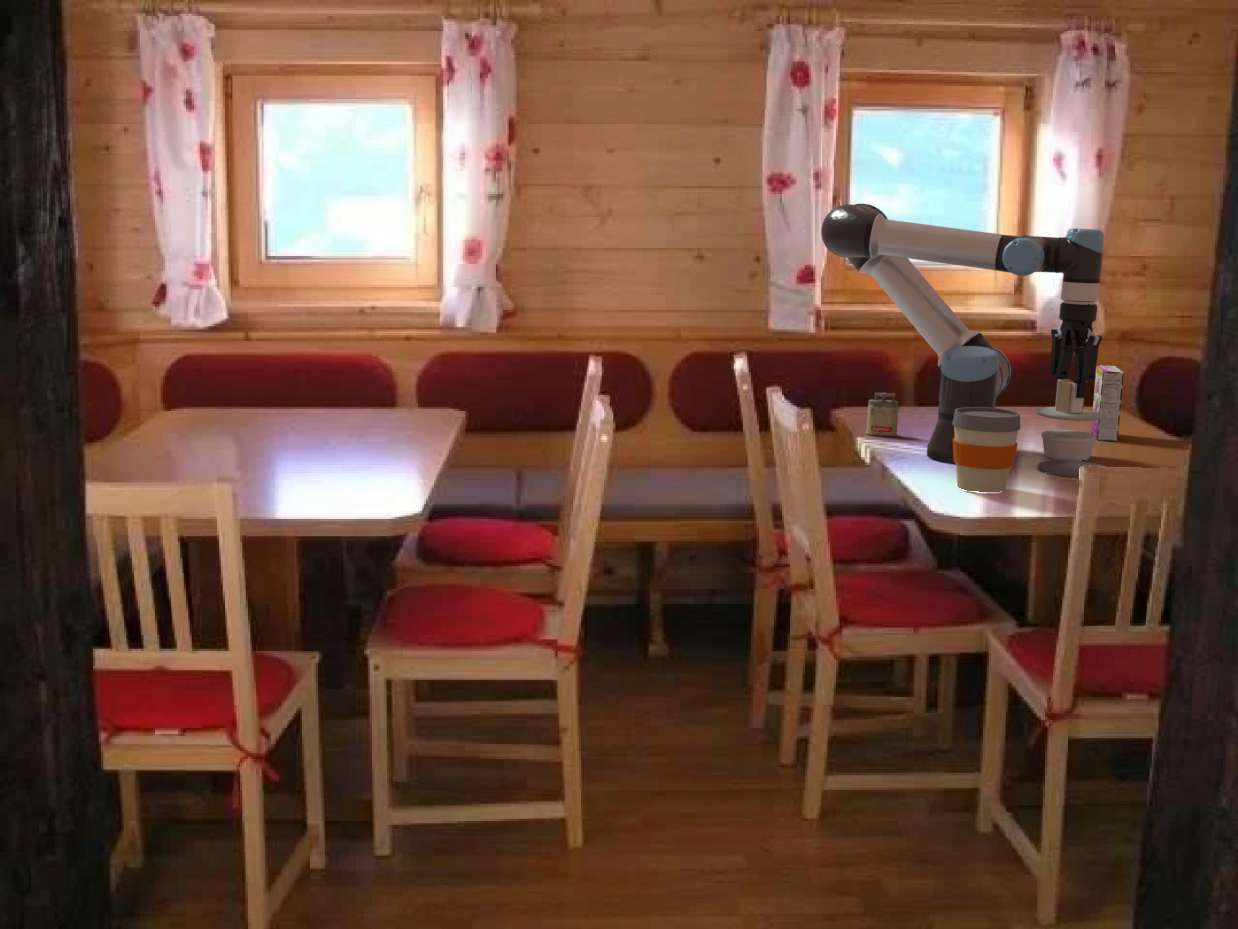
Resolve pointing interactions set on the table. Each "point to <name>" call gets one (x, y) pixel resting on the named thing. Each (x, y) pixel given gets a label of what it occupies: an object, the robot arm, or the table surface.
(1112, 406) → the candy bar box
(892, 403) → the lighter
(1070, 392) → the lid
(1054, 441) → the ramekin
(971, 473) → the reusable coffee cup
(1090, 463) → the trivet
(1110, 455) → the table surface
